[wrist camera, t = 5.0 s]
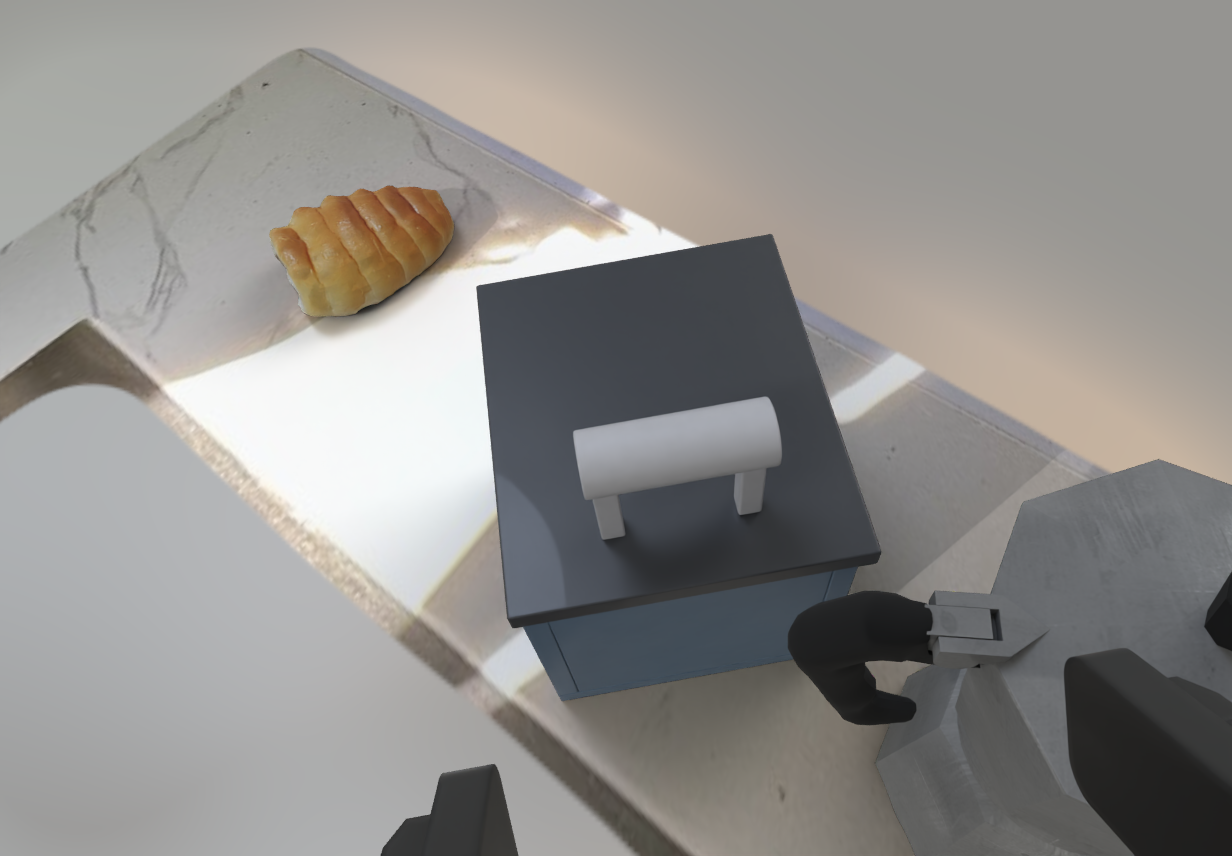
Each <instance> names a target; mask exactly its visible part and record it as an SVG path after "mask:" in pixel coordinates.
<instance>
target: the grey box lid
mask: <svg viewBox="0 0 1232 856" xmlns="http://www.w3.org/2000/svg"><path fill="white" fill-rule="evenodd" d="M476 289H477V300H478V310H479V321H480V332H481V342H482V353H483V364H484V375H485V385H486V396H487V407H488V418H489V428H490V439H491V450H492V461H493V471H494V482H495V493H496V503H497V514H498V525H499V536H500V546H501V557H502V568H503V579H504V589H505V600H506V611H507V619H508V621H509V623H510V624H511V626H512V628H519V627H525V626H530V625H536V624H541V623H547V622H552V621H558V620H563V619H569V618H575V617H580V616H586V615H591V614H597V613H602V612H608V611H614V610H619V609H625V608H630V607H636V606H641V605H647V604H652V603H658V602H664V601H669V600H675V599H680V598H686V597H691V596H697V595H702V594H708V593H714V592H719V591H725V590H730V589H736V588H741V587H747V586H753V585H758V584H764V583H769V582H775V581H780V580H786V579H791V578H797V577H803V576H808V575H814V574H819V573H825V572H830V571H836V570H841V569H847V568H853V567H858V566H864V565H869V564H875V563H877V562H878V560H879V557H880V555H881V549H880V546H879V543H878V540H877V537H876V534H875V531H874V528H873V525H872V522H871V520H870V517H869V514H868V511H867V508H866V505H865V502H864V499H863V496H862V493H861V490H860V488H859V485H858V482H857V479H856V476H855V473H854V470H853V467H852V464H851V461H850V459H849V456H848V453H847V450H846V447H845V444H844V441H843V438H842V435H841V432H840V429H839V427H838V424H837V421H836V418H835V415H834V412H833V409H832V406H831V403H830V400H829V397H828V395H827V392H826V389H825V386H824V383H823V380H822V377H821V374H820V371H819V368H818V366H817V363H816V360H815V357H814V354H813V351H812V348H811V345H810V342H809V339H808V336H807V334H806V331H805V328H804V325H803V322H802V319H801V316H800V313H799V310H798V307H797V305H796V302H795V299H794V296H793V293H792V290H791V287H790V284H789V281H788V278H787V275H786V273H785V270H784V267H783V264H782V261H781V258H780V255H779V252H778V249H777V246H776V244H775V241H774V238H773V235H772V234H768V235H763V236H757V237H751V238H746V239H740V240H734V241H729V242H724V243H717V244H712V245H706V246H700V247H695V248H689V249H683V250H678V251H672V252H666V253H661V254H655V255H649V256H644V257H638V258H632V259H627V260H621V261H615V262H610V263H604V264H598V265H592V266H587V267H581V268H575V269H570V270H564V271H558V272H553V273H547V274H541V275H536V276H530V277H524V278H519V279H513V280H507V281H502V282H496V283H490V284H485V285H479V286H477V288H476Z"/></svg>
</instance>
